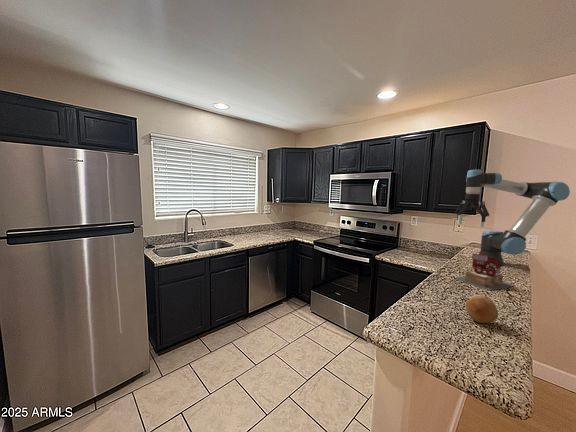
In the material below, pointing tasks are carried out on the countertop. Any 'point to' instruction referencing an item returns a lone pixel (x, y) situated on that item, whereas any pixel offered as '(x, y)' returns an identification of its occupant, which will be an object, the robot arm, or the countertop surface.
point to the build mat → (503, 285)
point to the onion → (481, 309)
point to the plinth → (483, 279)
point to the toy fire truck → (485, 264)
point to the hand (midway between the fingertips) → (470, 225)
